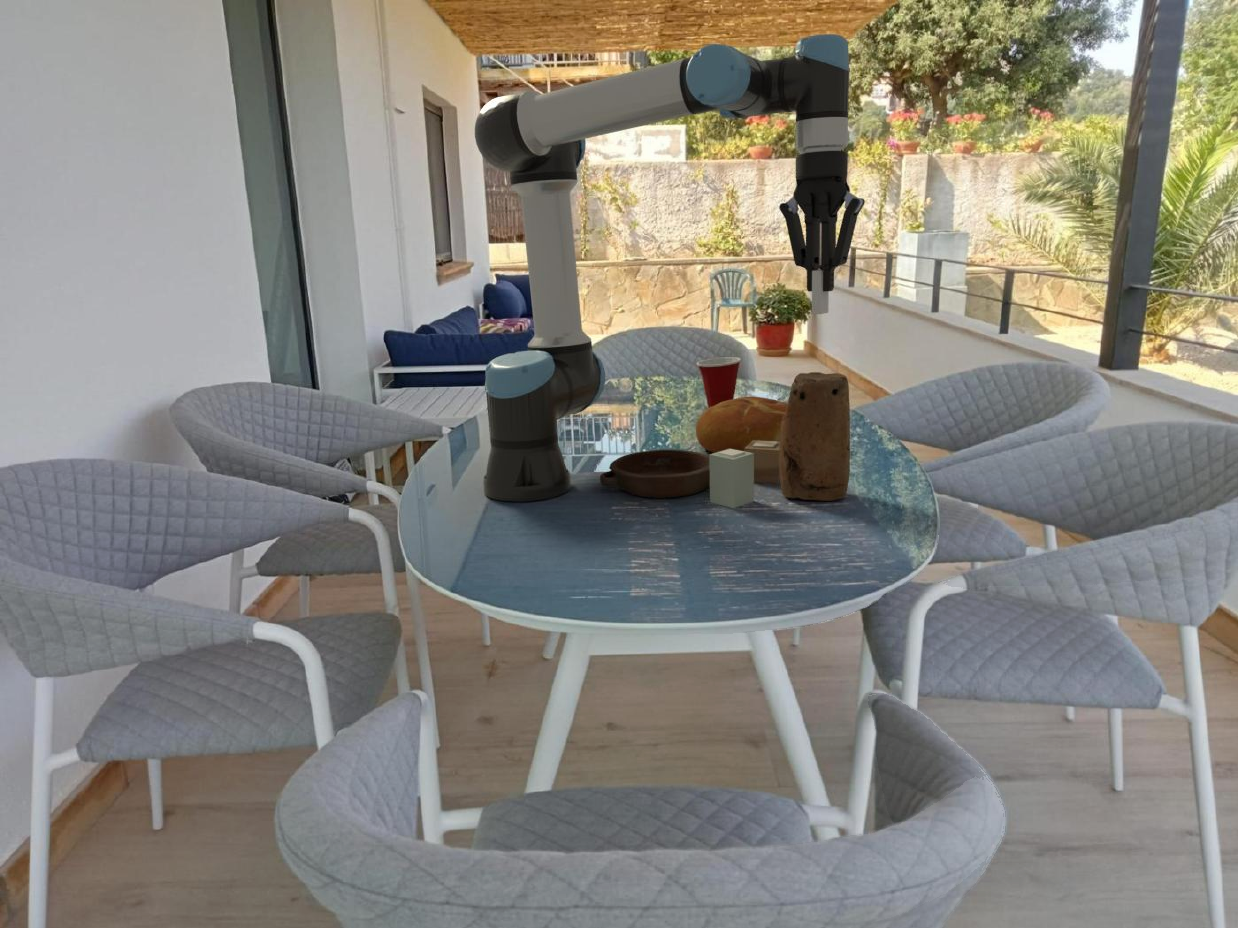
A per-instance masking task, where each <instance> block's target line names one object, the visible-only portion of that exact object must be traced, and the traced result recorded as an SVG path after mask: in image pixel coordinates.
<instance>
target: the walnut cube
mask: <svg viewBox="0 0 1238 928" xmlns="http://www.w3.org/2000/svg"><path fill="white" fill-rule="evenodd" d="M744 451H745V452H750V453H754V483H763V484H764V483H766V484H779V483H780V442H775V441H756V440H753V441H752V442H750V443H749V444H748V445H747V446H746V447H745V448H744Z"/></svg>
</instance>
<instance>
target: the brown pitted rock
mask: <svg viewBox="0 0 1238 928" xmlns="http://www.w3.org/2000/svg"><path fill="white" fill-rule="evenodd" d="M849 385H850V384H849V380H848V377H847V376H846V375H845V374H842V373H836V372H834V373H822V372H820V371H817V372H815V371H814V372H813V371H812V372H808V373H807V372H805V373H804V372H800V373H798V374H797V375H796V376H795V377H794V379H793V382H792V383H791V386H790V387H791V388H790V390H789V396H788V400H787V403H788V404H787V409H786V412H785V413H784V416H783V418H782V421H781V430H780V482H779V483H780V490H781V493H782V496H784V497H786V498H788V499H801V500H805V501H822V502H823V501H827V502H829V501H837V500H842V499H843V498H845V496H846V494H847V491H848V487H849V483H850V482H849V481H850V474H851V473H850V471H851V469H850V466H851V464H850V463H851V462H850V461H851V460H850V459H851V448H850V446H851V441H850V438H851V425H850V424H851V417H850V414H851V413H850V412H851V411H850V408H851V405H850V387H849Z"/></svg>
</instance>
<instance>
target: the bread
mask: <svg viewBox="0 0 1238 928" xmlns="http://www.w3.org/2000/svg"><path fill="white" fill-rule="evenodd" d="M787 404H788V402H786V401H785V402H784V401H779V400H776V399H773V398H767V397H761V396H742V397H737V398H733V399H732V400H727V401H724V402H721V403H718V404H717V405H715V406H712V407H709V408H706V409H705V410H704V411H703V412H702V414H701V415H700V416H699V418H698V420H697V422H696V425H695V437H696V439H697V441H698V443H699V445H700V446H701V447H702V448H703V449H705V450H706V451H708V452H710V453H712V454H713V453H716V452H720V451H723V450H727V449H735V450H740V451H744V448H745V447H746V446H747V445H748V444H749V443H750V442H752V441H753V440H756V441H775V442H780V430H781V421H782V418H783V416H784V413H785V412H786V409H787Z"/></svg>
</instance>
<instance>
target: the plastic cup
mask: <svg viewBox="0 0 1238 928" xmlns="http://www.w3.org/2000/svg"><path fill="white" fill-rule="evenodd" d="M741 361H742V358H741V357H736V356H725V357H723V356H722V357H714V358H709V359H704V360H700V361H698V362H696V366H697V367H698V369H699V371H700V375H701V378H702V379H701V380H702V384H703V389H704V395H705V397H706V405H707V407H708V408H709V407H712V406H715V405H717V404H718V403H721V402H724V401H727V400H732V399H735V397H734V396H735V392H736V387H737V386H736V385H737V379H738V372H739V368H740V362H741ZM708 408H707V409H708Z"/></svg>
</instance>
